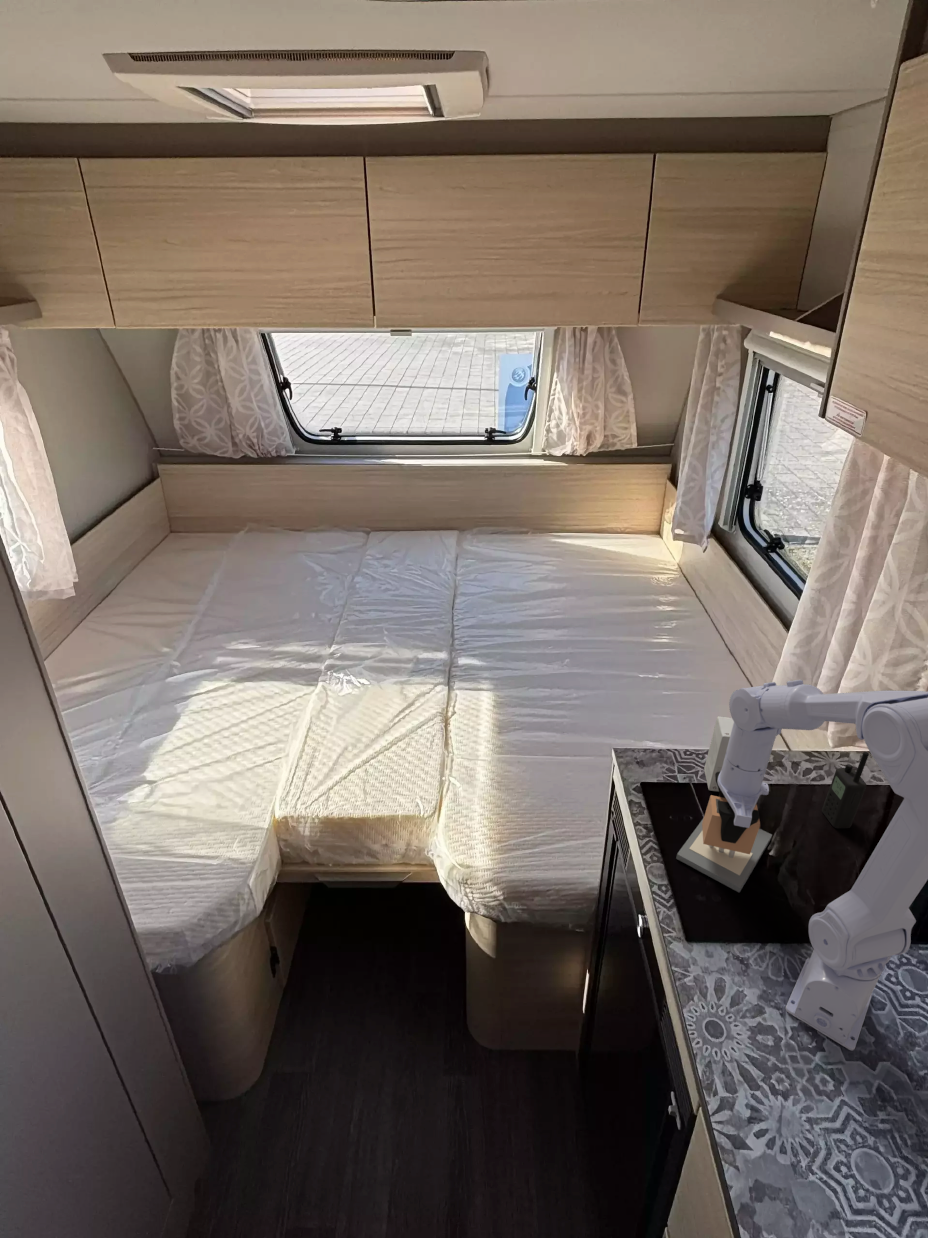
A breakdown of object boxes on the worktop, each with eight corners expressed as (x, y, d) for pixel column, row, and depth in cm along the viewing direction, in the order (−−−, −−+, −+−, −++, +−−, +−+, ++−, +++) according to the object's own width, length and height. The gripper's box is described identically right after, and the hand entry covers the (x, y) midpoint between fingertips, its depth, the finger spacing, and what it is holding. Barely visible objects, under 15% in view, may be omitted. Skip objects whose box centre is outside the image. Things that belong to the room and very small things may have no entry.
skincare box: (733, 794, 123) (748, 739, 117) (708, 791, 123) (721, 736, 118) (727, 771, 128) (741, 718, 122) (703, 768, 128) (716, 715, 123)
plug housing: (749, 854, 106) (760, 824, 103) (703, 844, 107) (712, 814, 104) (746, 833, 109) (757, 804, 106) (702, 823, 111) (710, 794, 108)
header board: (739, 892, 104) (745, 873, 102) (676, 858, 109) (680, 839, 107) (770, 839, 113) (776, 820, 111) (711, 810, 119) (716, 791, 117)
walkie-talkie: (819, 809, 120) (844, 739, 113) (838, 809, 120) (864, 739, 113) (834, 830, 116) (861, 758, 109) (854, 829, 116) (882, 758, 109)
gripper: (783, 798, 94) (760, 870, 100) (769, 733, 106) (749, 801, 113) (727, 788, 95) (708, 859, 102) (721, 725, 108) (704, 793, 114)
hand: (727, 828), depth 107 cm, fingers closed on plug housing, 4 cm apart
